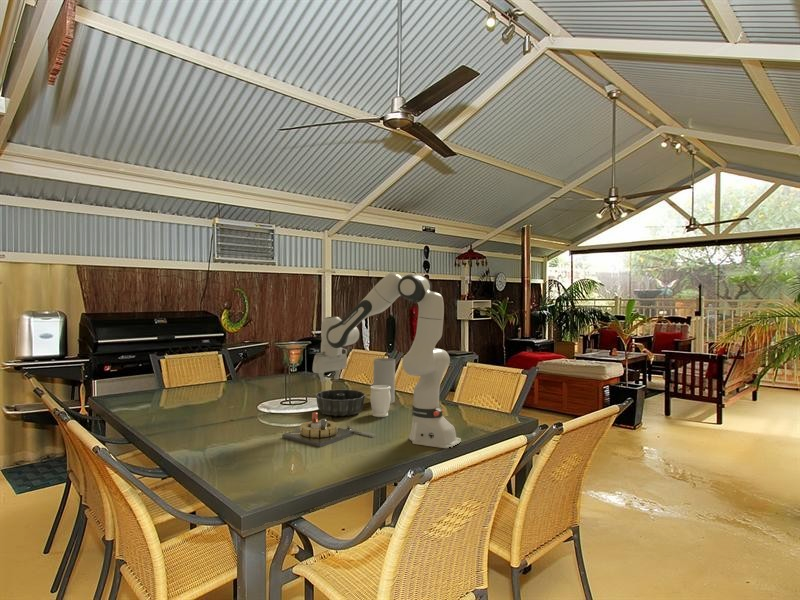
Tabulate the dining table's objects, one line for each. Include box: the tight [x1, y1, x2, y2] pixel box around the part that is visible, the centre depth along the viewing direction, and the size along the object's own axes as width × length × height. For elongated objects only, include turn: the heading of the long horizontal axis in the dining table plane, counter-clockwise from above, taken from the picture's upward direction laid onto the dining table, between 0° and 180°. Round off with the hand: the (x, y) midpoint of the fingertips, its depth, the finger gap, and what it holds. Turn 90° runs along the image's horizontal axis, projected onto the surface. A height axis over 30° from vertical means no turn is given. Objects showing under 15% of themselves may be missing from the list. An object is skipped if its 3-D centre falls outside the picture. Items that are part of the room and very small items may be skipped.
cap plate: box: [281, 422, 355, 448], centre depth 208 cm, size 22×22×6 cm
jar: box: [369, 385, 391, 418], centre depth 247 cm, size 11×10×15 cm
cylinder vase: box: [372, 357, 396, 405], centre depth 277 cm, size 12×12×25 cm
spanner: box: [345, 425, 376, 438], centre depth 213 cm, size 16×3×3 cm, turn 57°
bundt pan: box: [314, 388, 367, 418], centre depth 251 cm, size 26×26×10 cm
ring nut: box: [299, 411, 339, 438], centre depth 208 cm, size 16×16×7 cm
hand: (329, 380), depth 222 cm, fingers open, 8 cm apart
